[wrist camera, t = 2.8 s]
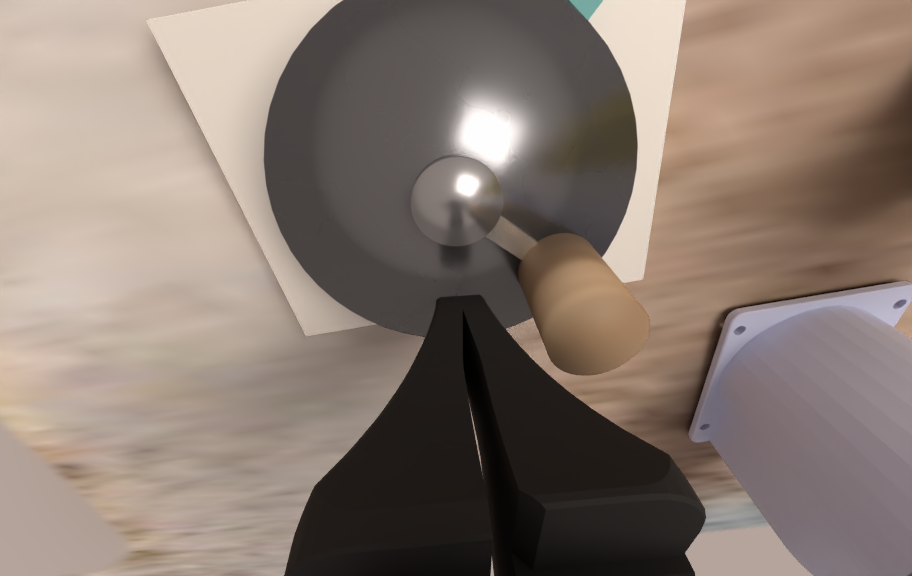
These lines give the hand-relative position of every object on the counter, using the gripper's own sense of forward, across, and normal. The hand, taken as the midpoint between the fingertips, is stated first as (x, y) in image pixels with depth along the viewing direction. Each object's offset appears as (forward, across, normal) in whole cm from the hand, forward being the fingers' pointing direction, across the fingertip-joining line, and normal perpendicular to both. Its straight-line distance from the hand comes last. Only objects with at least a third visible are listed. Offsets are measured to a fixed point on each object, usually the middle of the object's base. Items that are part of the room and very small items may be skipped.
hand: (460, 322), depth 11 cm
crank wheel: (+2, 0, -4) cm, 4 cm away
